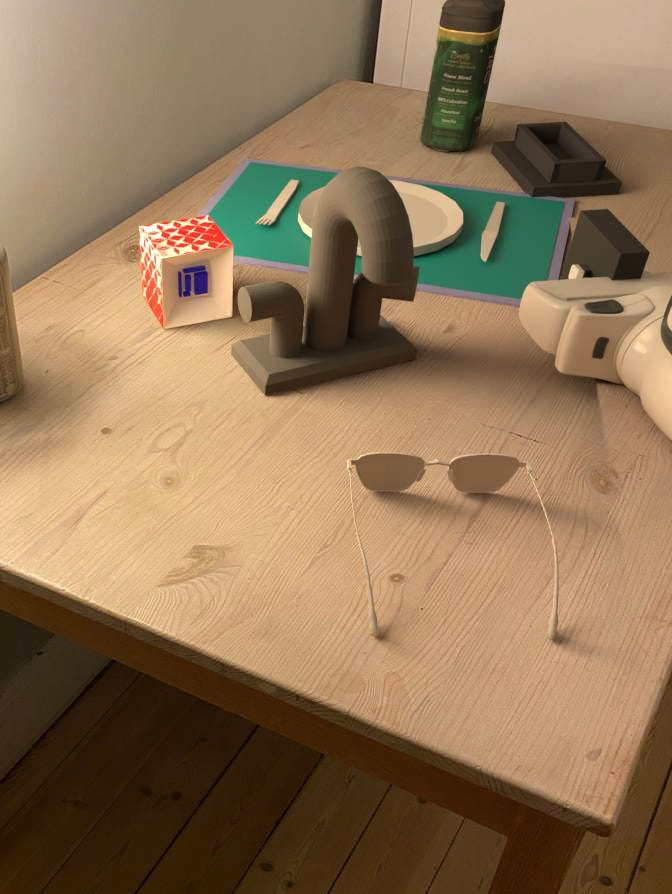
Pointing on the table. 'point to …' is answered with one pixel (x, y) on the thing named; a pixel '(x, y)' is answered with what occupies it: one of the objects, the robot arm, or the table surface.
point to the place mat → (431, 219)
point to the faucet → (336, 291)
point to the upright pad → (605, 247)
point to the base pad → (555, 162)
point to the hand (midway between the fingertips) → (596, 269)
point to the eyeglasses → (465, 476)
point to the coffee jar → (461, 73)
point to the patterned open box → (186, 271)
